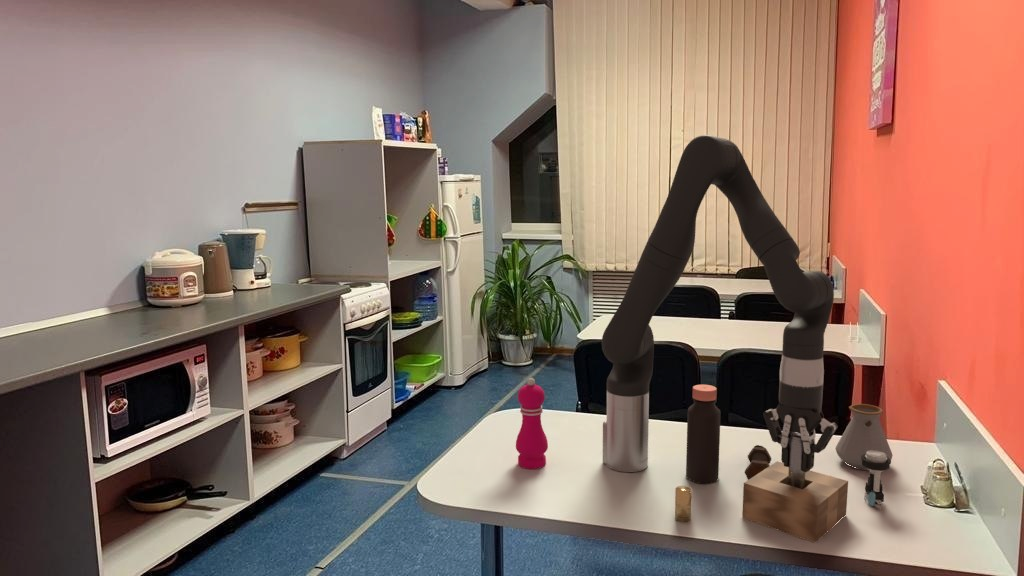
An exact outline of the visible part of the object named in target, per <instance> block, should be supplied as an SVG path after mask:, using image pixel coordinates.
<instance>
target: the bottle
mask: <svg viewBox="0 0 1024 576" xmlns="http://www.w3.org/2000/svg"><path fill="white" fill-rule="evenodd" d="M717 394H718V389H717V387H715V386H714V385H710V384H696V385H693V386H692V400H693V403H692V404H691V405H690V406H689V407H688V408H687V416H686V417H687V418H686V419H687V420H686V421H687V424H686V425H687V426H686V428H687V429H686V455H685V456H686V461H685V462H686V463H685V477H686V478H687V479H688V480H689V481H690V482H694V483H696V484H704V485H705V484H707V485H709V484H714V483H716V482H718V480H719V474H720V473H719V471H720V470H719V469H720V468H719V467H720V464H719V463H720V442H721V410H720V409H719V408H718V406H716V404H715V403H716V402H717Z"/></svg>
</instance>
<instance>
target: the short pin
mask: <svg viewBox="0 0 1024 576" xmlns="http://www.w3.org/2000/svg"><path fill="white" fill-rule="evenodd" d="M692 494H693V489H692V488H691V487H689V486H687V485H677V486H676V487H675V494H674V495H675V496H674V499H675V500H674V502H675V503H674V520H675V521H676V522H677V523H678V522H679V523H681V524H682V523H683V524H685V523H686V524H687V523H689V522H691V521H692V500H693V498H692V497H693V496H692Z"/></svg>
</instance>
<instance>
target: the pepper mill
mask: <svg viewBox="0 0 1024 576" xmlns="http://www.w3.org/2000/svg"><path fill="white" fill-rule="evenodd" d="M526 382H527V384H525V385H522V386H521V388H520V389H519V390H518V393H517V400H518V403H519V404H520V406H519V407H520V410H519V412H520V414H521V416H522V417H521V419H522V421H521V426H520V430H519V431H518V434H517V437H516V440H515V449H516V451H517V452H518V454H519V455H517V463H518V466H519V467H520V468H523V469H525V470H538V469H541V468H543V467H546V466H545V465H546V464H547V456H546V455H545V454H546V452H547V451H548V449H549V446H548V445H549V444H548V438H547V435H546V433H545V431H544V428H543V424H542V420H541V417H542V413H543V411H544V410H543V405H542V404H543V403H544V402H545V399H546V396H545V394H546V393H545V391H544V390H543V388H542V387H541V386H540V385H537V384H536V379H534V378H533V377H529V378H528V379H527V381H526Z"/></svg>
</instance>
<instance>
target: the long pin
mask: <svg viewBox="0 0 1024 576" xmlns="http://www.w3.org/2000/svg"><path fill="white" fill-rule="evenodd" d="M803 453H804V446H803V441H802V440H801V434H800V433H798V432H795V433H792V434H791V435H790V449H789V470H788V485H790V486H793V487H796V488H800V489H804V488H805V473H806V472H804V471H802V465H803Z"/></svg>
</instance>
